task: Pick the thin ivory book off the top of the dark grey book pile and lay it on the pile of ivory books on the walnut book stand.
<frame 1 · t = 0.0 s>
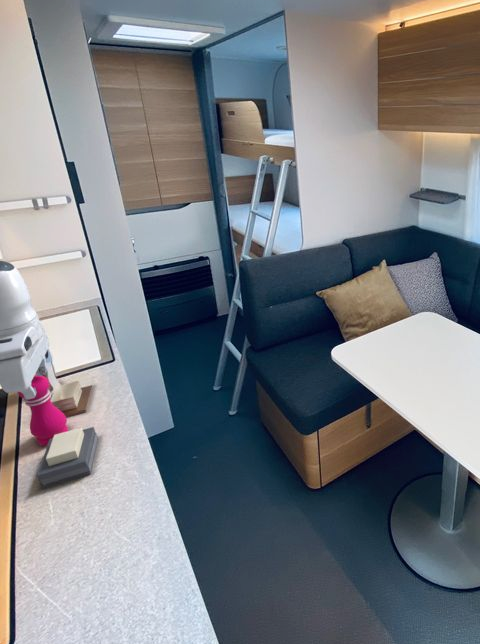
hand: (37, 385, 94), 19 cm above the worktop, tool pointing down, fingers open, 8 cm apart
pepper mill: (54, 438, 104), on the worktop
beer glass: (49, 391, 122), on the worktop
ivory pile: (69, 406, 115), on the worktop
ivory book: (67, 449, 95), point 4 cm above the worktop, touching grey pile
grey pile: (73, 464, 96), on the worktop
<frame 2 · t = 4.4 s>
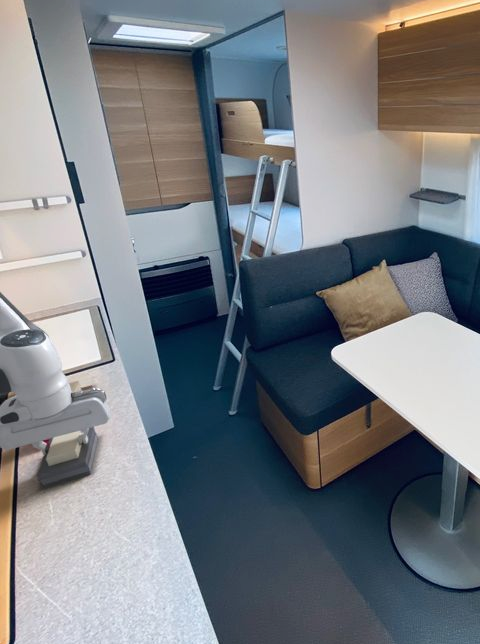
hand: (66, 447, 94), 5 cm above the worktop, tool pointing down, fingers closed on ivory book, 5 cm apart
ivory book: (67, 449, 95), point 4 cm above the worktop, touching grey pile, gripper
everything else where it was.
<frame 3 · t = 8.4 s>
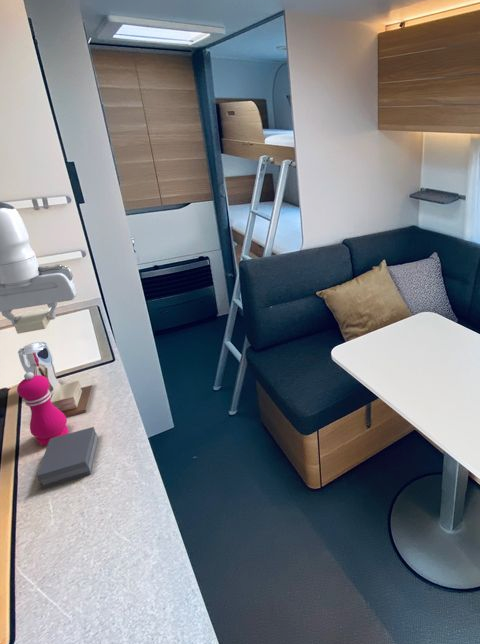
hand: (35, 321, 102), 29 cm above the worktop, tool pointing down, fingers closed on ivory book, 5 cm apart
ivory book: (36, 324, 102), point 28 cm above the worktop, touching gripper
everything else where it was.
when the fingers open (6 cm above the worktop, at t = 12.4 s): ivory book stays where it is, resting on ivory pile.
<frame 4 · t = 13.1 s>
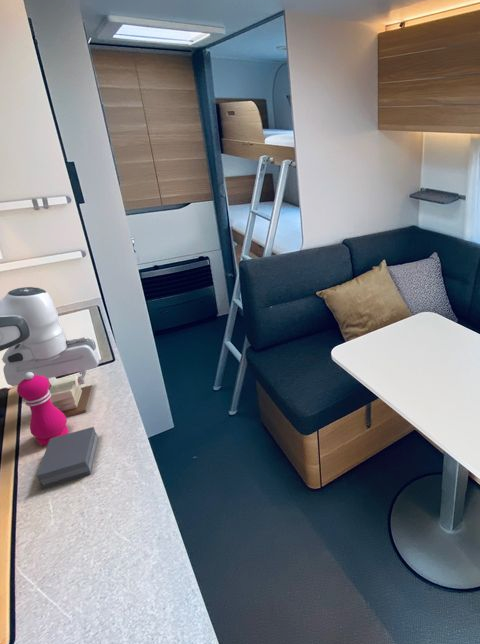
hand: (62, 387, 113), 6 cm above the worktop, tool pointing down, fingers open, 8 cm apart
ivory book: (64, 391, 114), point 5 cm above the worktop, touching ivory pile
everything else where it was.
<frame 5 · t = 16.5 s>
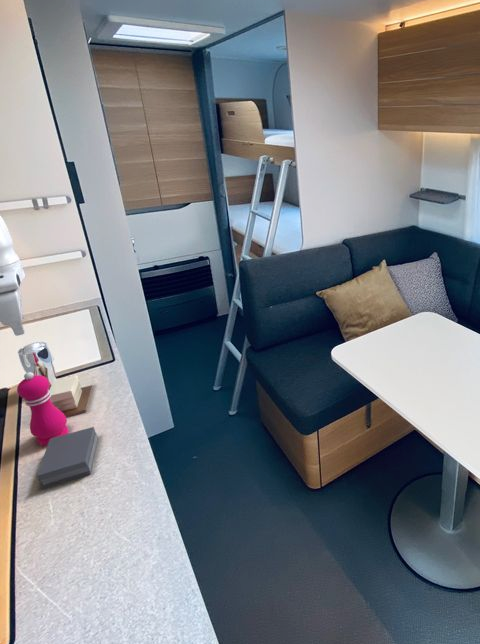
hand: (19, 326, 101), 28 cm above the worktop, tool pointing down, fingers open, 8 cm apart
nothing on the worktop moved.
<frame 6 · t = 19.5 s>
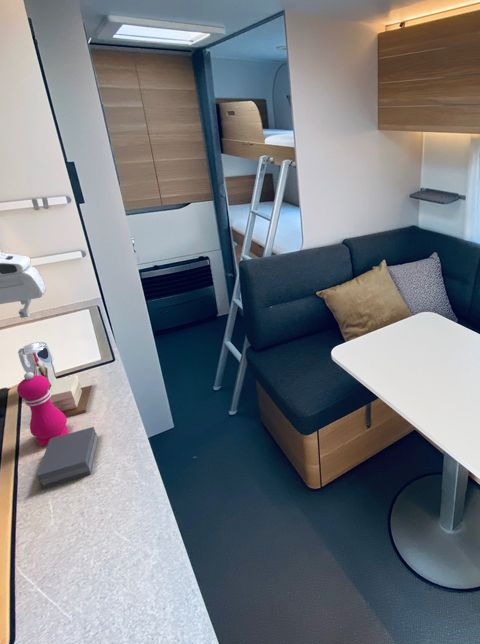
hand: (1, 320, 98), 31 cm above the worktop, tool pointing down, fingers open, 8 cm apart
nothing on the worktop moved.
at the end: ivory book 0.2 cm off-centre on the ivory pile, point 5.1 cm above the ivory pile's base; ivory book tilted 0°; ivory book touching ivory pile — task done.
